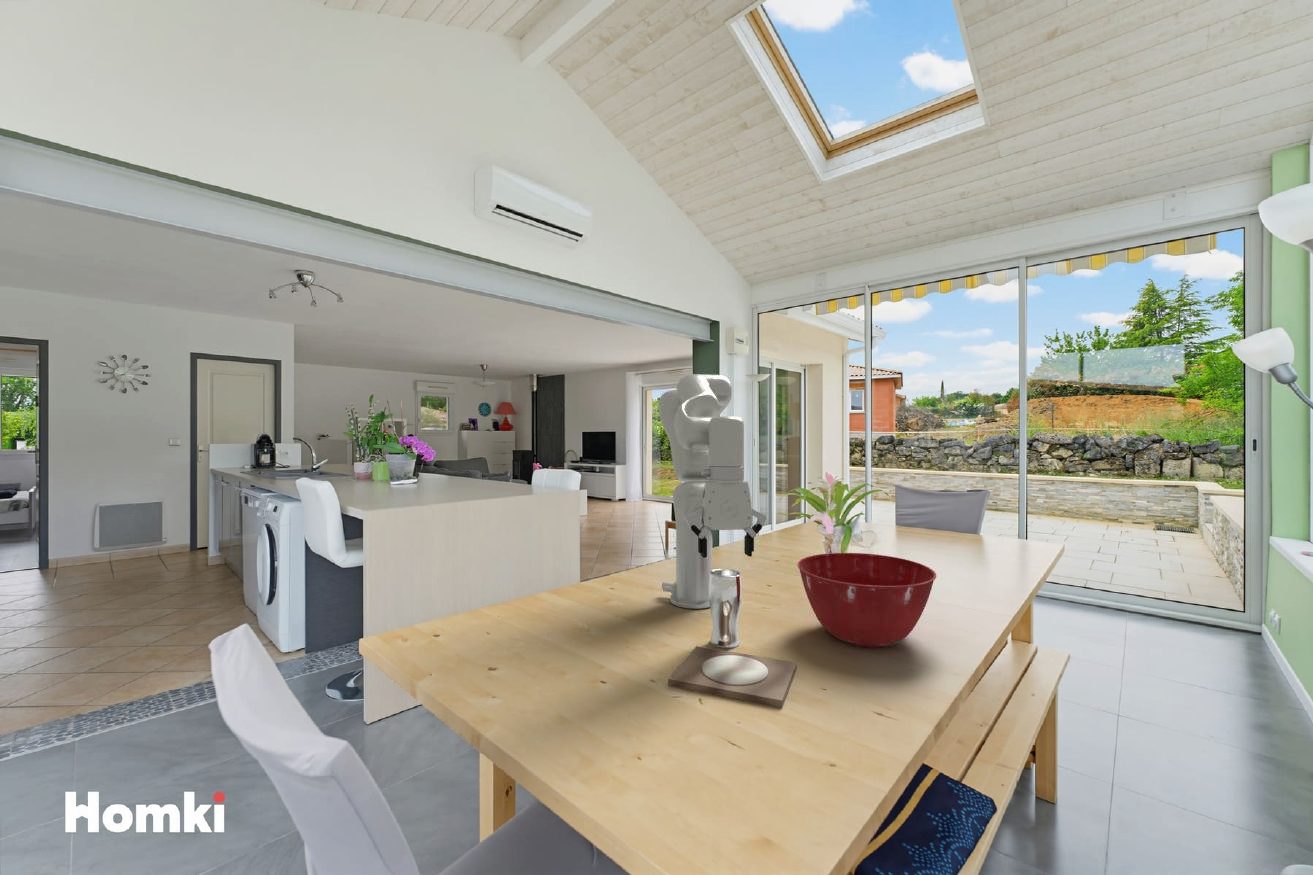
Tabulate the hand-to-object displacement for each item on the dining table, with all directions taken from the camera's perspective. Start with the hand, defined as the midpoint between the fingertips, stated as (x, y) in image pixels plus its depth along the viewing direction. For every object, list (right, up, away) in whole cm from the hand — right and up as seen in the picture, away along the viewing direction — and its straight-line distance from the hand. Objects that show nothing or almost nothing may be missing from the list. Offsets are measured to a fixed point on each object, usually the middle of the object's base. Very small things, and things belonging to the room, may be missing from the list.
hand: (726, 555), depth 117 cm
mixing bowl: (+31, -19, +5) cm, 37 cm away
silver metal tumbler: (0, -19, +1) cm, 19 cm away
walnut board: (0, -19, -15) cm, 24 cm away
